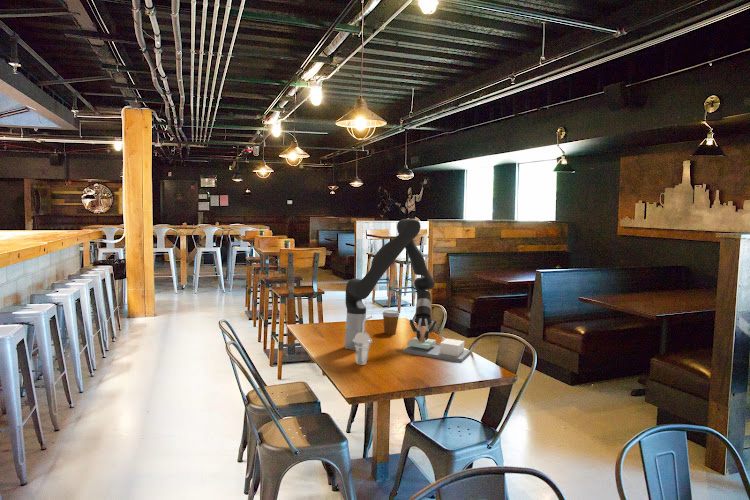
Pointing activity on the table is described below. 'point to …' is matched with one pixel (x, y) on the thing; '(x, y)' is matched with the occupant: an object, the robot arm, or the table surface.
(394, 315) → the disposable coffee cup
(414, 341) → the mint lid
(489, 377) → the table surface
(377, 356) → the table surface
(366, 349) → the cup with straw
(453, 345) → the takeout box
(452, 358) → the slate board
